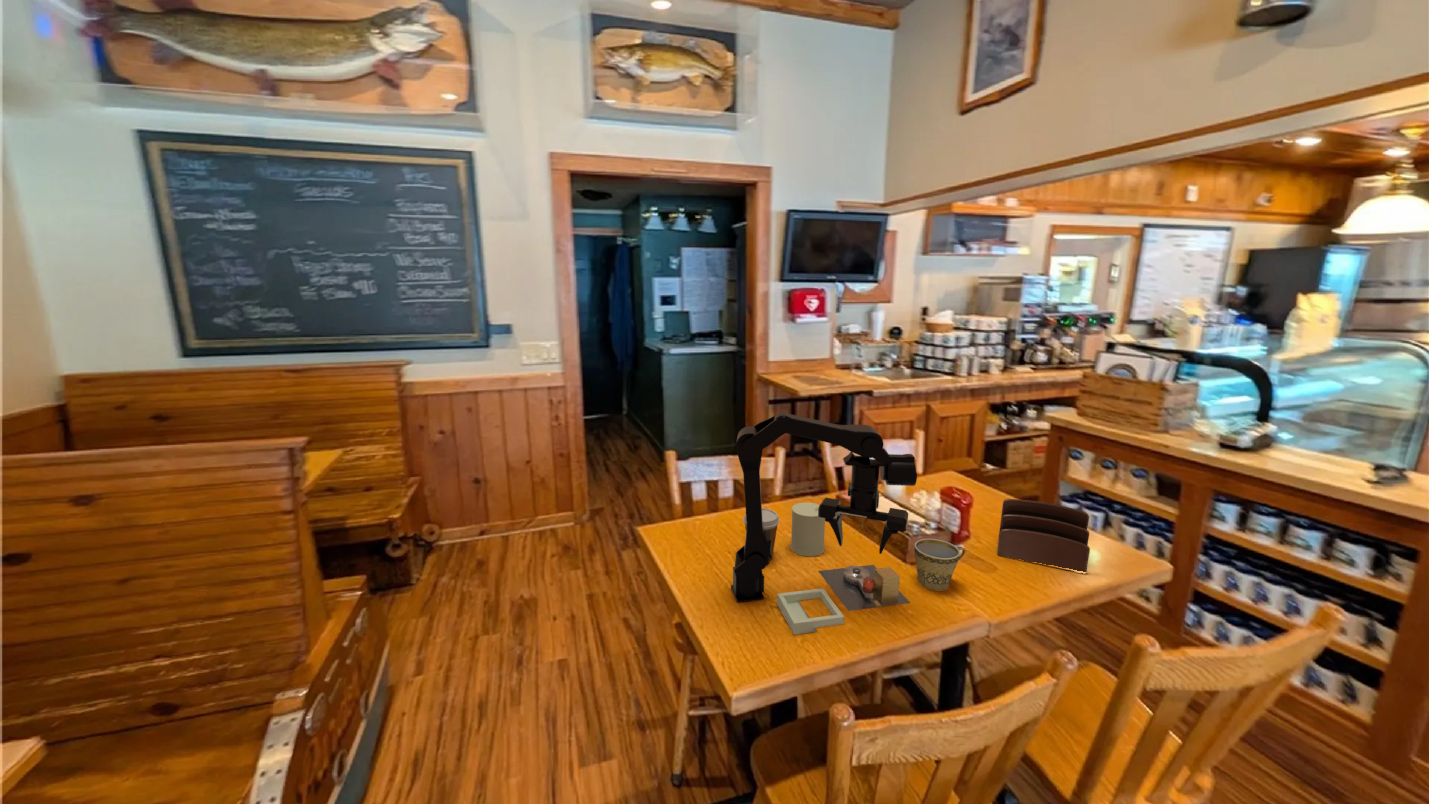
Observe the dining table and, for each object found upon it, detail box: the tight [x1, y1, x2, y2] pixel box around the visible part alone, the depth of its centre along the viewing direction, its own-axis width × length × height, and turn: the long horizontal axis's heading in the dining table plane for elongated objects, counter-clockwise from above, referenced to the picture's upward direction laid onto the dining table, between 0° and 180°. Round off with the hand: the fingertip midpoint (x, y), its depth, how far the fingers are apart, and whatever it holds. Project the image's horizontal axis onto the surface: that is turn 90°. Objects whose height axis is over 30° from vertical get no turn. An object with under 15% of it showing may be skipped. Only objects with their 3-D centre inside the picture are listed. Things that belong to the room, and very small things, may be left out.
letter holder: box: [996, 498, 1091, 573], centre depth 140 cm, size 10×20×14 cm, turn 60°
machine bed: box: [818, 564, 911, 612], centre depth 125 cm, size 15×17×2 cm
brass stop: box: [873, 566, 901, 602], centre depth 121 cm, size 4×4×6 cm
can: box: [790, 502, 826, 557], centre depth 144 cm, size 9×9×12 cm
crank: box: [844, 565, 874, 598], centre depth 125 cm, size 12×6×4 cm, turn 4°
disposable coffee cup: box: [742, 507, 780, 562], centre depth 140 cm, size 10×10×12 cm
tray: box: [776, 588, 845, 636], centre depth 115 cm, size 11×11×3 cm
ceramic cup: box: [913, 538, 966, 592], centre depth 126 cm, size 13×10×10 cm
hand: (860, 549), depth 119 cm, fingers open, 8 cm apart
